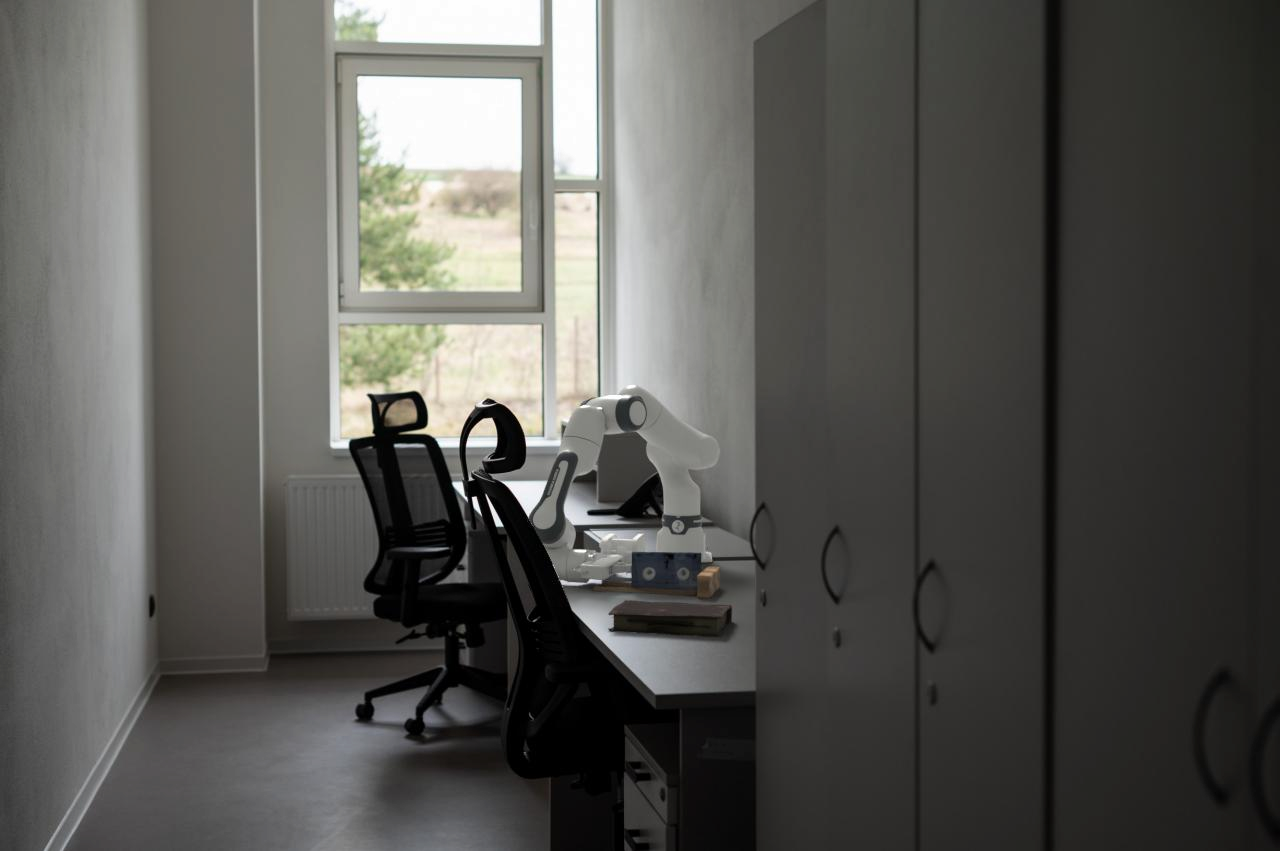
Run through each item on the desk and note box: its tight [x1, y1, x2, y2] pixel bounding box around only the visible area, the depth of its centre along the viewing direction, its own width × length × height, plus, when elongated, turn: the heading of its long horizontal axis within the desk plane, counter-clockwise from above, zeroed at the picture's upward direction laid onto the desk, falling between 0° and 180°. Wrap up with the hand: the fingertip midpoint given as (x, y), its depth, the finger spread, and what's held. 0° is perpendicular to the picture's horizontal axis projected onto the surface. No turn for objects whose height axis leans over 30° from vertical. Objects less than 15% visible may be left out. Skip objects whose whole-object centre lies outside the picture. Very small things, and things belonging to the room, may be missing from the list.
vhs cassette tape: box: [630, 551, 702, 591], centre depth 330 cm, size 18×3×10 cm, turn 90°
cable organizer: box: [598, 533, 646, 580], centre depth 351 cm, size 15×11×12 cm
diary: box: [607, 599, 733, 638], centre depth 284 cm, size 19×25×5 cm
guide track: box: [593, 565, 721, 599], centre depth 331 cm, size 16×31×6 cm, turn 77°
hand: (632, 568), depth 332 cm, fingers closed
